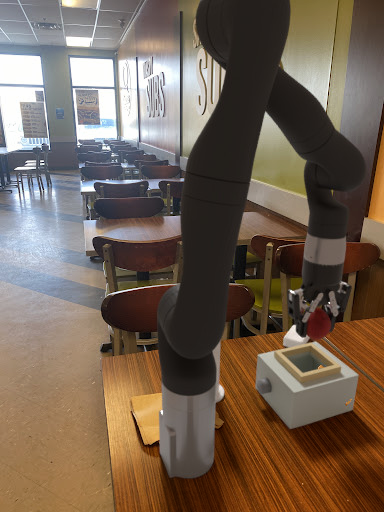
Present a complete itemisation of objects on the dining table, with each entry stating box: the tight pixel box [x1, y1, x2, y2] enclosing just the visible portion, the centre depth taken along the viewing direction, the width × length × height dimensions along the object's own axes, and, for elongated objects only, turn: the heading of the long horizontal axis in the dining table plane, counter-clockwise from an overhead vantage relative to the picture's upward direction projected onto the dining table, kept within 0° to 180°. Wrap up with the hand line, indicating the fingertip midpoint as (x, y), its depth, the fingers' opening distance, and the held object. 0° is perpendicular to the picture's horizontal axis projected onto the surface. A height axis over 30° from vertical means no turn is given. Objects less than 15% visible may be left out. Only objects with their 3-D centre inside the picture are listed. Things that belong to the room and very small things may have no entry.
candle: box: [213, 339, 225, 404], centre depth 86 cm, size 7×7×25 cm
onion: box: [306, 306, 331, 342], centre depth 81 cm, size 6×6×8 cm
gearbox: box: [254, 341, 360, 430], centre depth 87 cm, size 18×14×10 cm
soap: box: [282, 324, 310, 348], centre depth 111 cm, size 9×6×3 cm, turn 148°
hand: (314, 332), depth 82 cm, fingers closed on onion, 6 cm apart
